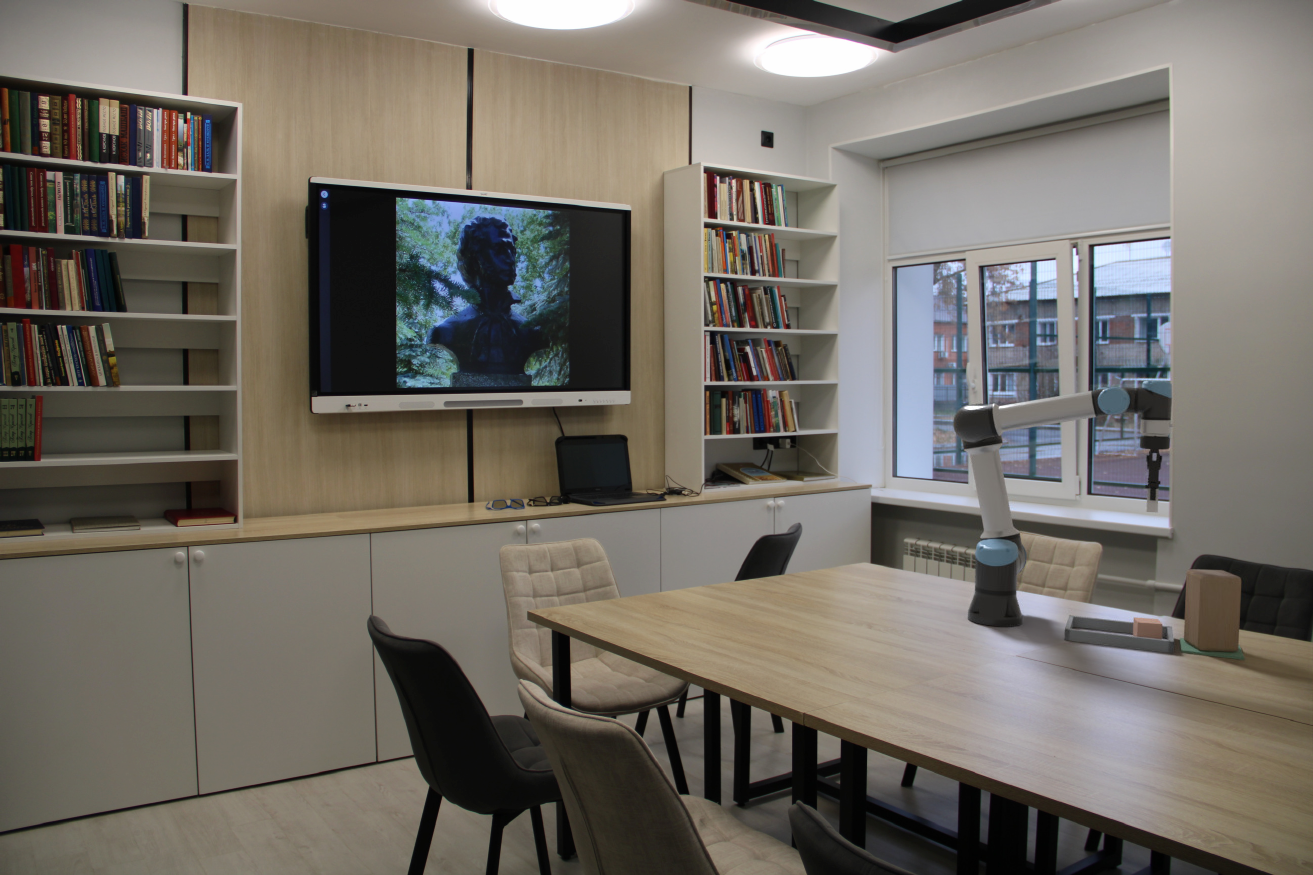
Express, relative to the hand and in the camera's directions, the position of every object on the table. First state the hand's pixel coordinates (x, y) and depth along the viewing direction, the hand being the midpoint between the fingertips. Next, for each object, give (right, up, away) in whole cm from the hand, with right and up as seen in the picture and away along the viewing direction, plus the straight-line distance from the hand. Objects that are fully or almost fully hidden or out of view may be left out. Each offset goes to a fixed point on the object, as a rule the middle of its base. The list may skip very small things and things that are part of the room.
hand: (1151, 509), depth 268 cm
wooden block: (+5, -35, -19) cm, 40 cm away
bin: (-14, -35, -9) cm, 39 cm away
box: (-8, -35, -12) cm, 38 cm away
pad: (+6, -36, -19) cm, 41 cm away
